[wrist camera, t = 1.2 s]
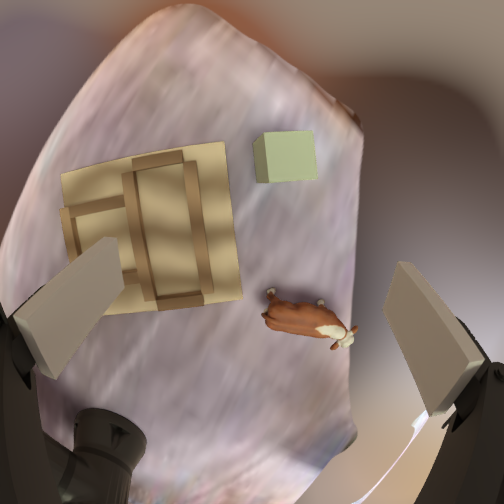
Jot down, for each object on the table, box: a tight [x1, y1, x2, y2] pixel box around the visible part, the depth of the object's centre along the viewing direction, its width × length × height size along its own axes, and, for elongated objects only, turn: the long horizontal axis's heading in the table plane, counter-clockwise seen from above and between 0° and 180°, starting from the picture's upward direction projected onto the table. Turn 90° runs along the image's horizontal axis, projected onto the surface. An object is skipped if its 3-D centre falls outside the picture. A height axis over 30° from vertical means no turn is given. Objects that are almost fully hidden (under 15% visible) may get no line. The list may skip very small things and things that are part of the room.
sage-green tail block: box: [253, 131, 318, 183], centre depth 30 cm, size 5×5×8 cm
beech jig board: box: [59, 141, 243, 315], centre depth 33 cm, size 20×22×2 cm
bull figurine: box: [261, 288, 358, 350], centre depth 35 cm, size 4×13×8 cm, turn 68°
